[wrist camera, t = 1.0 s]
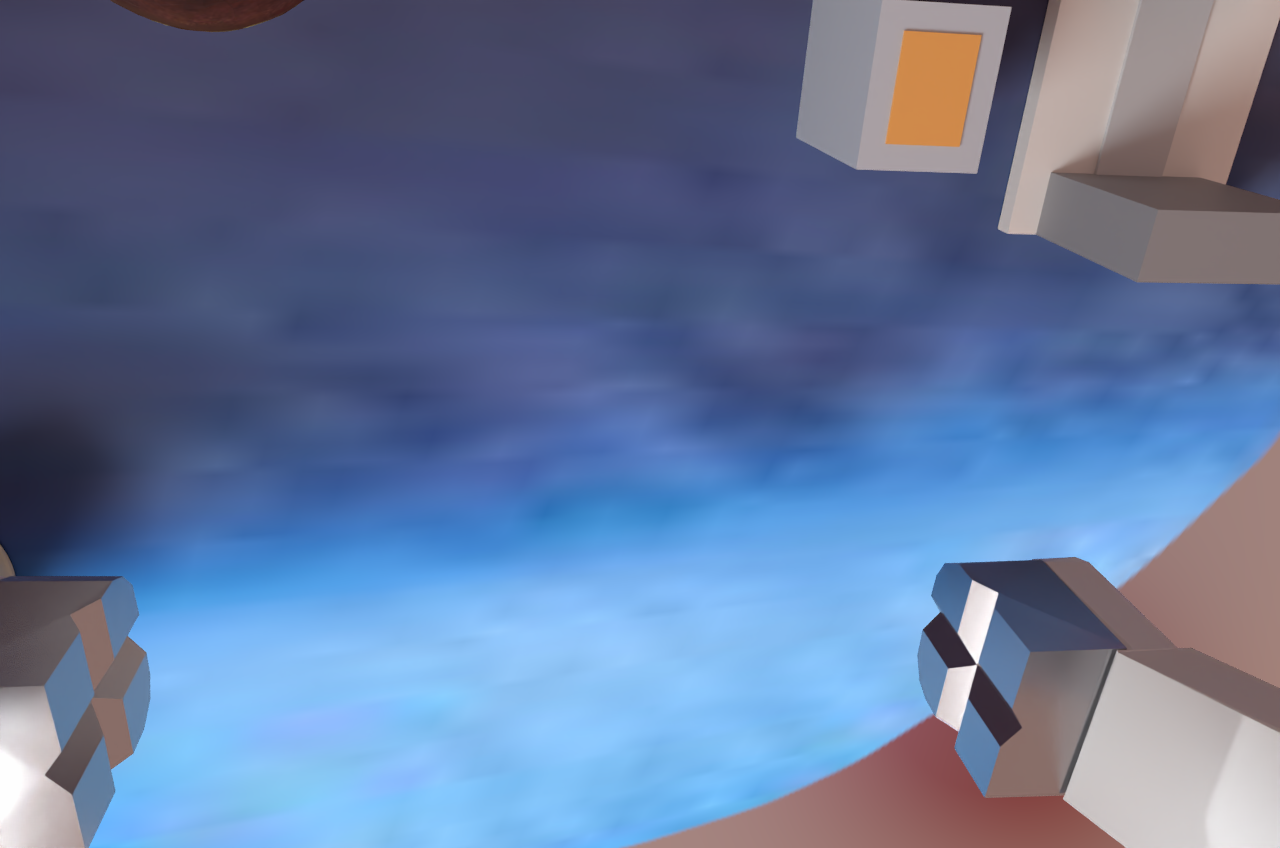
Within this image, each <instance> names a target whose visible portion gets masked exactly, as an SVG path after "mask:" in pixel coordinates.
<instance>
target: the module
mask: <svg viewBox="0 0 1280 848" xmlns="http://www.w3.org/2000/svg"><path fill="white" fill-rule="evenodd" d="M1011 8H1012V7H1003V6H988V5H972V4H956V3H941V2H925V1H910V0H813V5H812V13H811V21H810V29H809V37H808V45H807V53H806V61H805V69H804V77H803V85H802V93H801V101H800V109H799V117H798V125H797V133H796V138H798V139H800V140H802V141H804V142H805V143H807V144H809V145H811V146H813V147H815V148H817V149H819V150H821V151H822V152H824V153H826V154H828V155H830V156H832V157H834V158H836V159H838V160H839V161H841V162H843V163H845V164H847V165H849V166H851V167H853V168H855V169H859V170H889V171H918V172H947V173H977V171H978V166H979V161H980V156H981V152H982V147H983V142H984V137H985V132H986V128H987V123H988V118H989V113H990V109H991V104H992V99H993V94H994V89H995V85H996V80H997V75H998V70H999V66H1000V61H1001V56H1002V51H1003V46H1004V42H1005V37H1006V32H1007V27H1008V23H1009V18H1010V13H1011Z"/></svg>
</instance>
